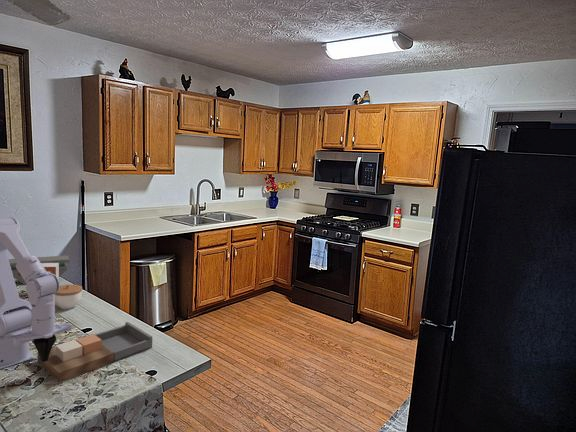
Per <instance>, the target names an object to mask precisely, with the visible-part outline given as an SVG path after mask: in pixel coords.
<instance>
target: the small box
mask: <svg viewBox="0 0 576 432" xmlns="http://www.w3.org/2000/svg"><path fill="white" fill-rule="evenodd" d="M41 264H42V265H43V267H44V268H45V270H46V271H47V272H48V271H49V272H50V273H51V274H54V275H56V277H57V279H58V281H59V282H60V277H59V263H41Z"/></svg>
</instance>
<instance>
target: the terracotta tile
mask: <svg viewBox="0 0 576 432" xmlns="http://www.w3.org/2000/svg"><path fill="white" fill-rule="evenodd" d="M75 340H76V341H77V342H78V343H79V344H80V345H82V353H83V354H87V353H90V352H93V351H96V350H99V349H102V340H101V339H100V338H99V337H97V336H96V335H95V333H93V334H90V335H86V336H82V337H80V338H76V339H75Z"/></svg>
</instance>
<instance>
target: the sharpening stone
mask: <svg viewBox="0 0 576 432" xmlns="http://www.w3.org/2000/svg"><path fill="white" fill-rule="evenodd" d="M36 257H37V258H38V260H39V261H40V263H59V278H60V277H61V276H62V275H64V274H65V273H66V271H68V265H67V264H68V263H70V256H69V255H56V256H53V255H52V256H39V257H38V256H36ZM8 260H9V263H10V267H11V270H12V274H13V277H14V280H17V281H18V282H20V283H21V284H23V285H24V286H27V283H26V282H25V280H24V279H23V277H22V276H21V274H20V273H19V271H18V270H17V268H16V264H17V260H16V259H15V258H8Z"/></svg>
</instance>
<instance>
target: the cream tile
mask: <svg viewBox="0 0 576 432" xmlns="http://www.w3.org/2000/svg"><path fill="white" fill-rule="evenodd" d="M75 340H76V339H74V340H73V339H72V340H69V341H67V342H64V343H63V342H62V343H60V344H57V345H55V347H56V355H57V356H58V357H59V358H60V359H61V360H62V361H63V362H64V361H67V360H70V359H73V358H76V357H78V356H81V355H82V345H80V344H79V343H78V342H77V341H75Z"/></svg>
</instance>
